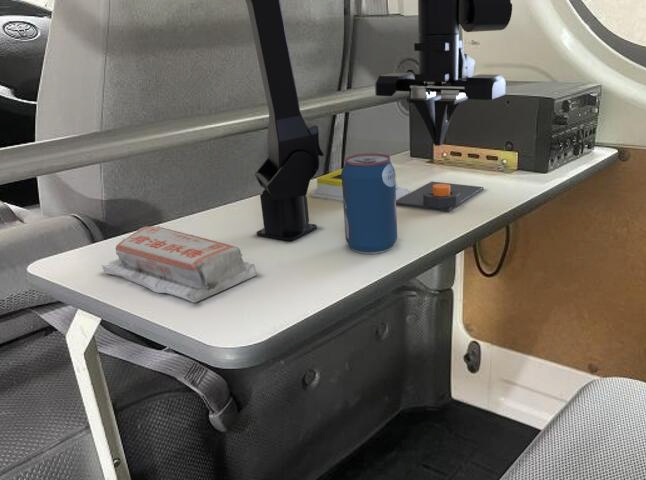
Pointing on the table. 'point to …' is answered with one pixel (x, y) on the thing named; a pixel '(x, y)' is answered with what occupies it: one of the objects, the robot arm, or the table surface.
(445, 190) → the button
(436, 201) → the scale
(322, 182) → the emergency button
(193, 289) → the packaged product
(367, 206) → the soda can
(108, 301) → the table surface
